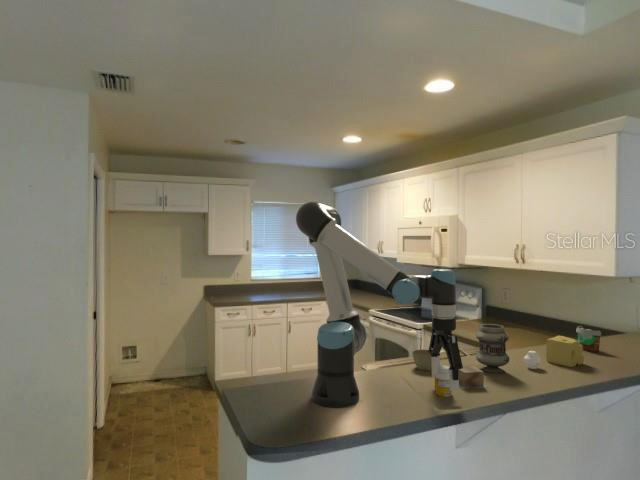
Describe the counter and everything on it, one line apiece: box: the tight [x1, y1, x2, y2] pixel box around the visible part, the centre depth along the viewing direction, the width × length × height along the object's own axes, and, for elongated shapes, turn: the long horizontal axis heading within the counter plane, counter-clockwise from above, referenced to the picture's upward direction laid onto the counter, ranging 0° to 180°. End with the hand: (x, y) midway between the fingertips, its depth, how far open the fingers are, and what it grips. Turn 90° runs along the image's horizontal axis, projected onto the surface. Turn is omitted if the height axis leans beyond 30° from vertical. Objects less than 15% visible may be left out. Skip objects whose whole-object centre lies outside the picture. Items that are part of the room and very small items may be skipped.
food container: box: [575, 325, 602, 353], centre depth 198 cm, size 12×6×10 cm, turn 6°
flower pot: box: [412, 348, 440, 371], centre depth 164 cm, size 10×10×7 cm
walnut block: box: [459, 365, 485, 387], centre depth 147 cm, size 7×7×5 cm
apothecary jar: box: [475, 323, 510, 373], centre depth 163 cm, size 12×12×18 cm
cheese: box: [545, 335, 585, 368], centre depth 176 cm, size 10×11×10 cm
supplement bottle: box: [434, 364, 453, 398], centre depth 137 cm, size 5×5×10 cm
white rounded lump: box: [523, 350, 542, 370], centre depth 169 cm, size 6×6×7 cm
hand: (444, 382), depth 137 cm, fingers open, 13 cm apart
